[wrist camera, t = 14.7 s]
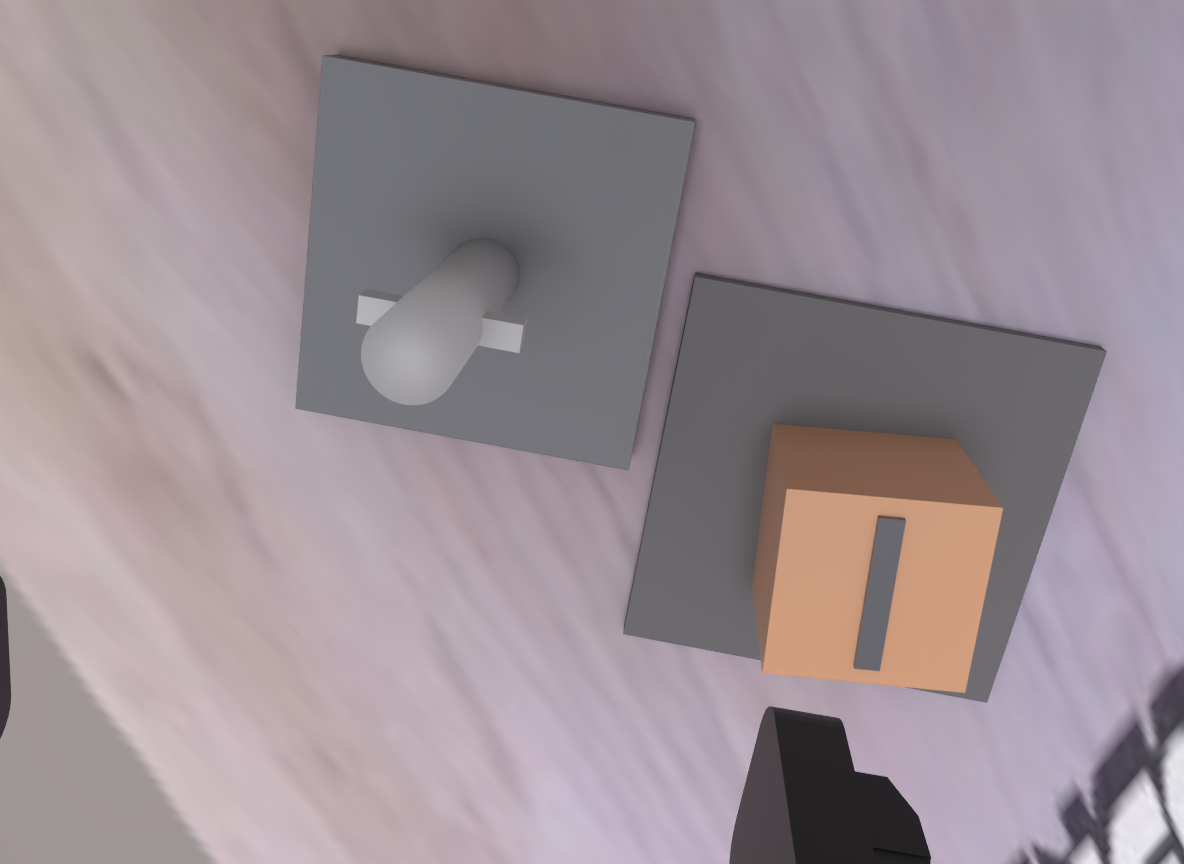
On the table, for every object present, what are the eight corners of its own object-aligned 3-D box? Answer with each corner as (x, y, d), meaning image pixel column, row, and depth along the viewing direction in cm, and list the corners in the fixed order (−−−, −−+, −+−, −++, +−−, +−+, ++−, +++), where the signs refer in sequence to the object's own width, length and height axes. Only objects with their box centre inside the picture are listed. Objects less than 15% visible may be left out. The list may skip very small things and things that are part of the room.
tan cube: (956, 439, 38) (1005, 510, 32) (926, 602, 40) (966, 696, 35) (772, 423, 39) (787, 491, 33) (752, 586, 41) (762, 676, 35)
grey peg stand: (336, 55, 36) (178, 60, 25) (695, 118, 36) (698, 154, 25) (309, 395, 40) (162, 532, 29) (630, 455, 40) (608, 616, 29)
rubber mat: (695, 273, 38) (695, 276, 37) (1100, 346, 37) (1106, 351, 37) (624, 626, 43) (623, 634, 42) (982, 694, 42) (986, 702, 42)
